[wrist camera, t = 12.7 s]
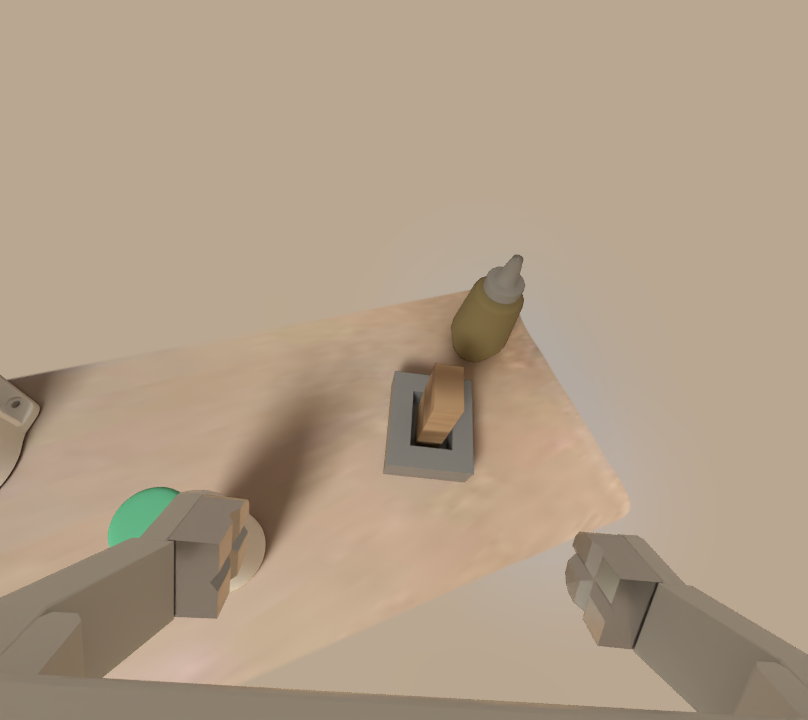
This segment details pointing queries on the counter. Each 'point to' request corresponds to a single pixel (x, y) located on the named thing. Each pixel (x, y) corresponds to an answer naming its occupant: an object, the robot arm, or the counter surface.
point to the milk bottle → (151, 504)
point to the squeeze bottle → (489, 312)
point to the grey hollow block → (422, 461)
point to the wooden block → (439, 405)
